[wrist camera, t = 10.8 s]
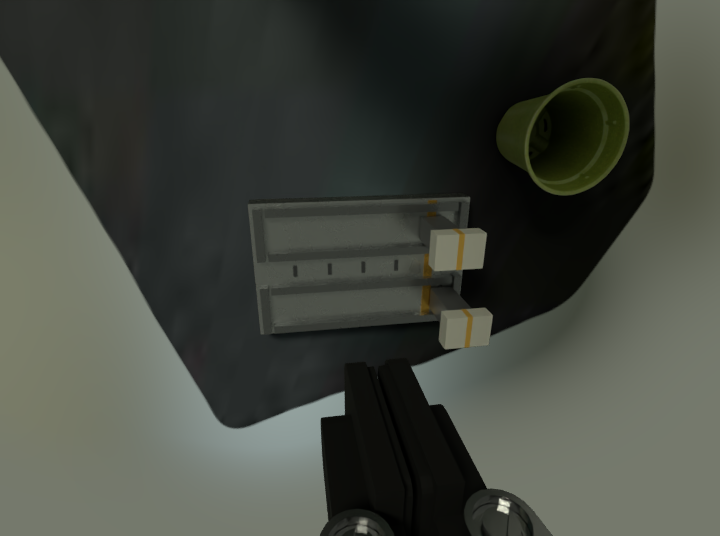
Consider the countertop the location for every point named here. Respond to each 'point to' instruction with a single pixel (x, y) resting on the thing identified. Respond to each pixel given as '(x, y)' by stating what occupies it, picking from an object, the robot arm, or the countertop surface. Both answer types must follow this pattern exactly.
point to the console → (347, 260)
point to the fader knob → (459, 320)
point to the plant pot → (567, 135)
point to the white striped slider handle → (452, 244)
